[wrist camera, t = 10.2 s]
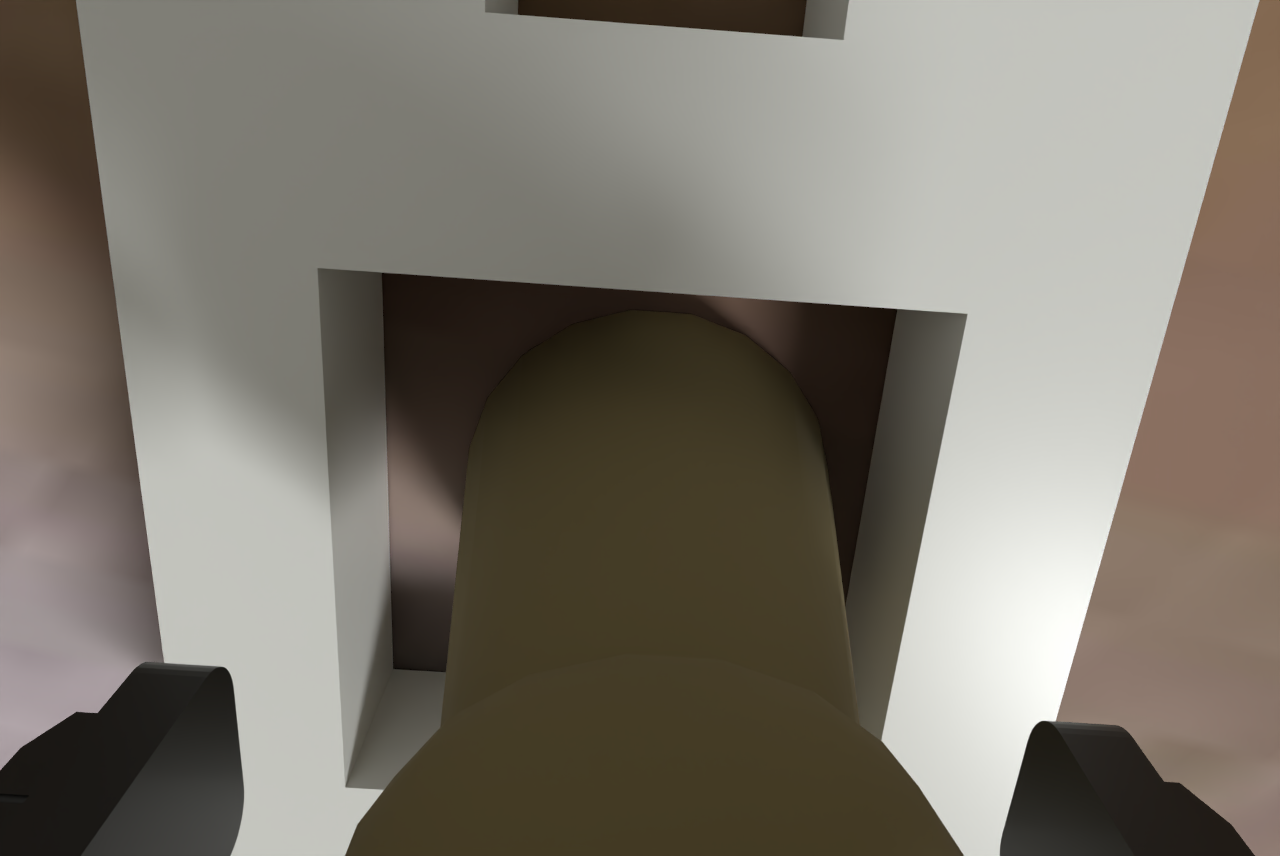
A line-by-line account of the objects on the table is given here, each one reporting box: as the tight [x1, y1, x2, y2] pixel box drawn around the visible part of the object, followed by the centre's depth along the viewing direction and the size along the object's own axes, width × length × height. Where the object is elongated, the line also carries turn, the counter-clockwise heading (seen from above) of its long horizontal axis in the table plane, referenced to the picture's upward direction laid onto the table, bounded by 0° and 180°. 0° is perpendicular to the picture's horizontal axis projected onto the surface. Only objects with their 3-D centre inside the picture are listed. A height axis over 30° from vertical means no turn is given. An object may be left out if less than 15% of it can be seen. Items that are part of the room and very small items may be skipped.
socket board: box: [76, 0, 1259, 856], centre depth 13 cm, size 13×20×3 cm, turn 176°
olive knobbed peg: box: [345, 310, 964, 856], centre depth 11 cm, size 6×6×11 cm
